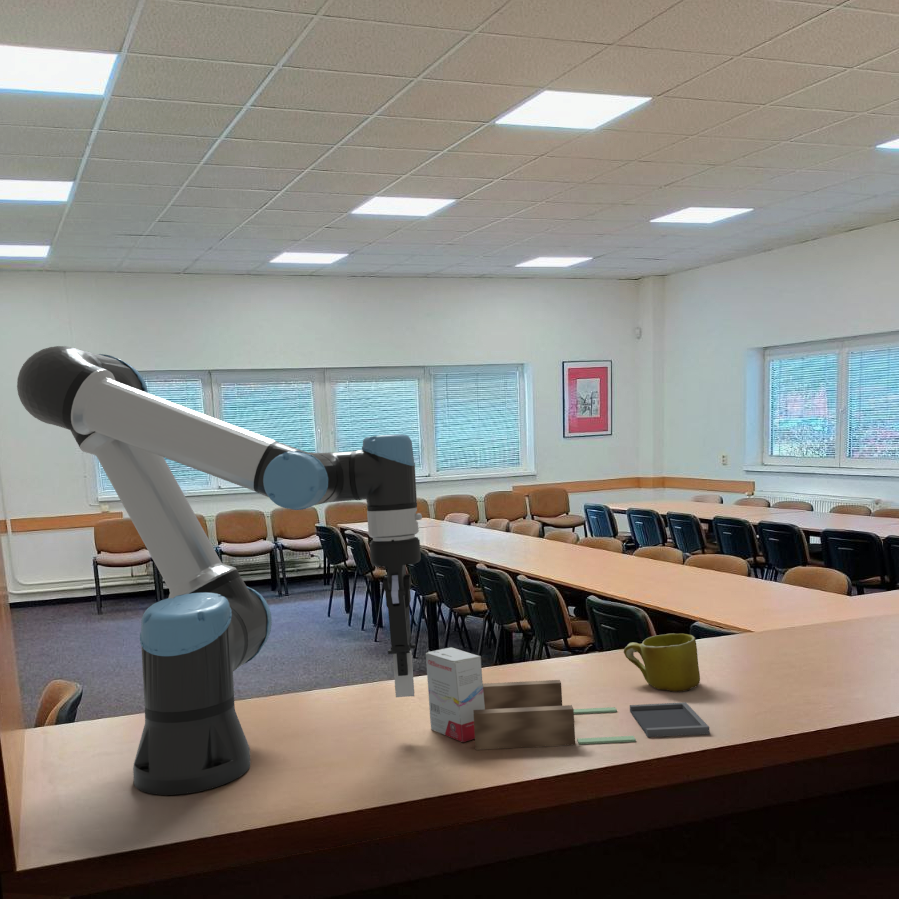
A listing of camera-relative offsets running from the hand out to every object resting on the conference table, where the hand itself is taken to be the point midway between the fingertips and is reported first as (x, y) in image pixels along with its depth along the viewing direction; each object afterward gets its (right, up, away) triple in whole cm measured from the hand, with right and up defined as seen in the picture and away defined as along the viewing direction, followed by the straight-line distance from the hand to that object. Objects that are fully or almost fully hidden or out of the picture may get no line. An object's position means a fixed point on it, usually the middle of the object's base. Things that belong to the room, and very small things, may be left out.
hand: (405, 695), depth 120 cm
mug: (+44, -4, +19) cm, 48 cm away
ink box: (+8, -6, 0) cm, 10 cm away
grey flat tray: (+39, -4, 0) cm, 39 cm away
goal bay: (+29, -5, 0) cm, 29 cm away
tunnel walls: (+17, -5, 0) cm, 18 cm away
